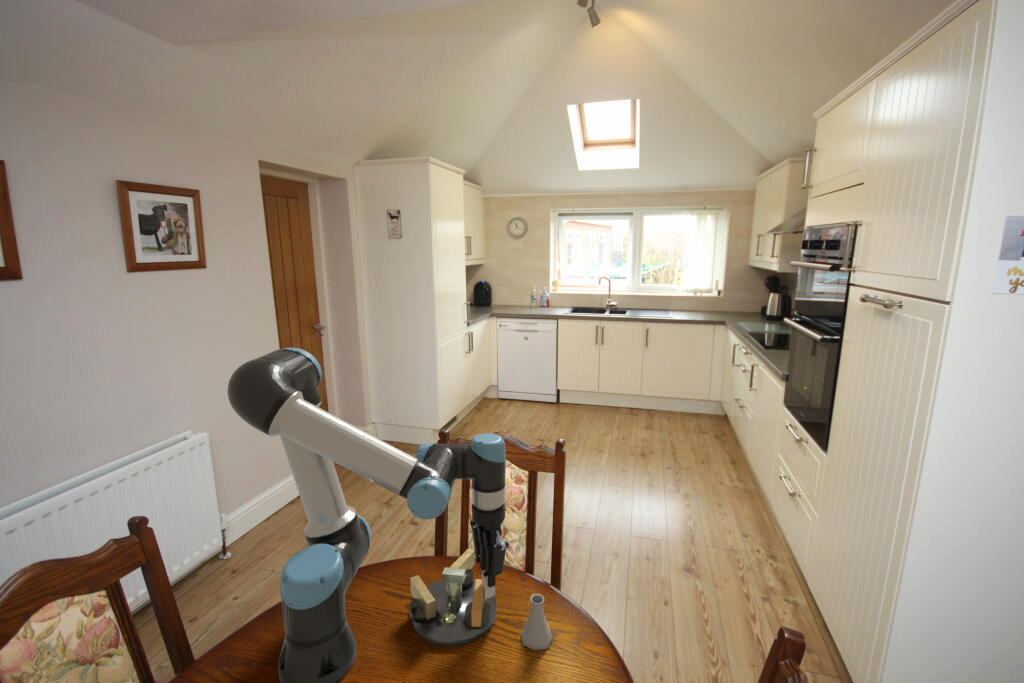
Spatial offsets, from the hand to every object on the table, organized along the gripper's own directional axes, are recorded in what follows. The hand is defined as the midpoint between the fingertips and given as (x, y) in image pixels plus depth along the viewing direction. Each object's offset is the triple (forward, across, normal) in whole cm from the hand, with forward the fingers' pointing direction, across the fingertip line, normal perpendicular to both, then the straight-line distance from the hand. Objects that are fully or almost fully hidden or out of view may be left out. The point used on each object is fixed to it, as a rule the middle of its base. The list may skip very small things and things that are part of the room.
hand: (488, 595), depth 110 cm
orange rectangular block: (+4, -1, +4) cm, 5 cm away
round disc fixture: (+6, +7, +5) cm, 11 cm away
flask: (+6, -11, -6) cm, 14 cm away
